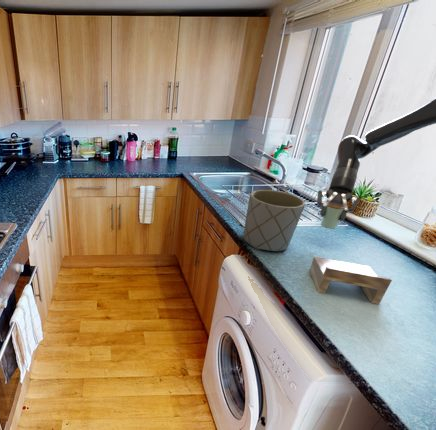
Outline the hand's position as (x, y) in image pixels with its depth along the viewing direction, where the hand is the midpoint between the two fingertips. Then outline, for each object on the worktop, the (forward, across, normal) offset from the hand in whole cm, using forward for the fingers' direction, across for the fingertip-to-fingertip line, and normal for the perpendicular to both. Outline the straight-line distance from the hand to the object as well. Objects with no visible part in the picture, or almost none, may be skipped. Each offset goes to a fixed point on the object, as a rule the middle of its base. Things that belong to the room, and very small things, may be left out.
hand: (331, 218), depth 110 cm
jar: (+2, 0, +4) cm, 5 cm away
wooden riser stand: (+27, +8, -8) cm, 29 cm away
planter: (+17, -19, +2) cm, 25 cm away
